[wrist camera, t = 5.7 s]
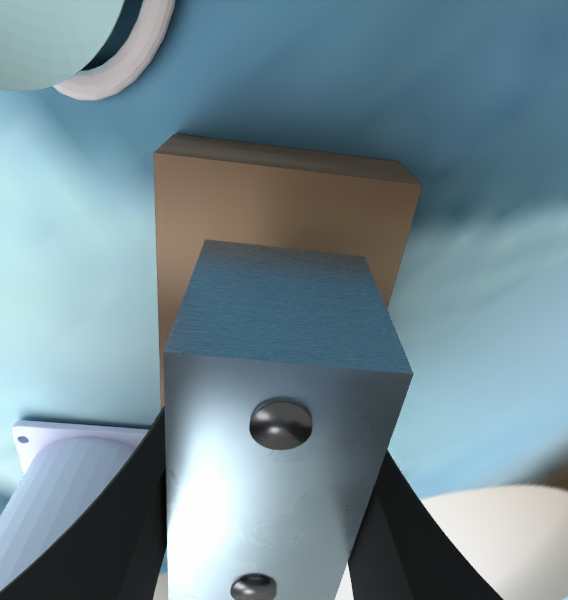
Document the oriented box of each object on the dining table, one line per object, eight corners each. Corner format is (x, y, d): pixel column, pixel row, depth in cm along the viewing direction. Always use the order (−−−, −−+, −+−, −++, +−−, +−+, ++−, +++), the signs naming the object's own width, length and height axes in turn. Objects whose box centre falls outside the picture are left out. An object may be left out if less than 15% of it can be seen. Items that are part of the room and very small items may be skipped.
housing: (364, 256, 12) (415, 377, 8) (313, 470, 17) (327, 624, 12) (205, 239, 12) (162, 355, 7) (197, 462, 16) (168, 617, 12)
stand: (333, 419, 22) (341, 468, 20) (176, 406, 22) (162, 455, 19) (398, 161, 16) (422, 185, 13) (174, 133, 15) (153, 152, 13)
